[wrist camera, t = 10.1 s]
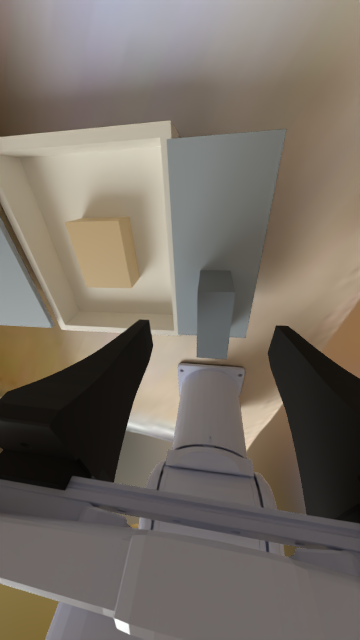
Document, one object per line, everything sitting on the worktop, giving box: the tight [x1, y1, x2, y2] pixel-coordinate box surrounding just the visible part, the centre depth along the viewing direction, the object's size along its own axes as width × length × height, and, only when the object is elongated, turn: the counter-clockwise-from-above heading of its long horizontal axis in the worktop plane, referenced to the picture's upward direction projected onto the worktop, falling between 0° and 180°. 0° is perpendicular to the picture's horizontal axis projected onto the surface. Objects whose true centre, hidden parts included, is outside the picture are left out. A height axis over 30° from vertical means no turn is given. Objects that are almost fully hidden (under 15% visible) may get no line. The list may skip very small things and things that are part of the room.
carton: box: [0, 120, 181, 336], centre depth 16 cm, size 14×12×3 cm
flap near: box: [167, 129, 286, 359], centre depth 12 cm, size 12×6×4 cm, turn 3°
